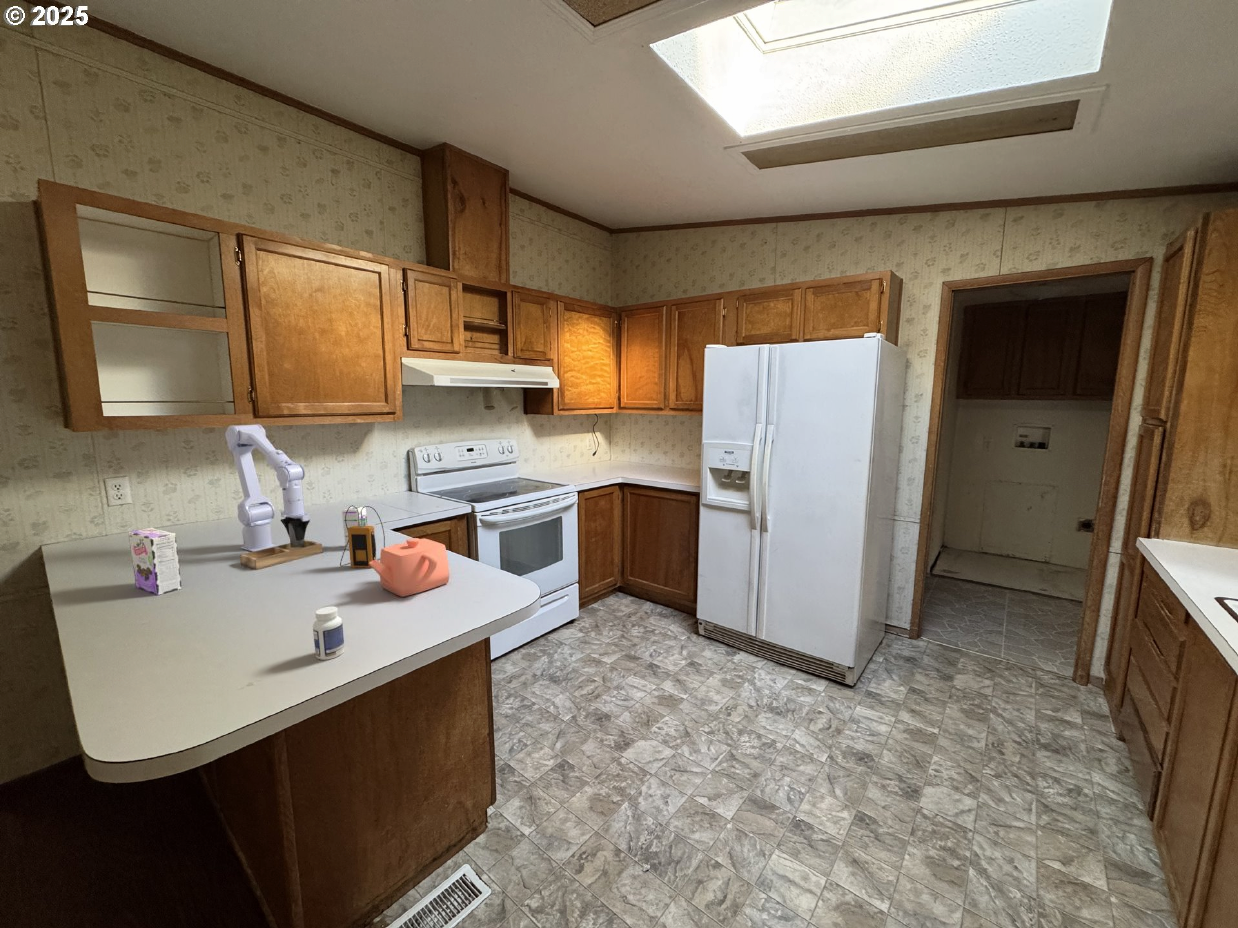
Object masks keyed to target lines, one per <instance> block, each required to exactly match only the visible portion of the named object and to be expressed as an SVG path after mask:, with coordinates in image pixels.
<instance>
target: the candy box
mask: <svg viewBox="0 0 1238 928" xmlns="http://www.w3.org/2000/svg"><path fill="white" fill-rule="evenodd" d="M176 535H177V534H176V533H175V532H170V531H166V530H162V529H158V528H155V527H147V528H142V529H138V530H133V531H128V538H129V539H128V540H129V547H130V553H131V559H132V568H133V573H134V581H135V587H136V588H138V589H141V590H144V591H146V592H149V593H152V594H154V595H157V596H160V595H163V594H167V593H172V592H174V591H175V590H176V591H179V589H180V590H182V588H183V587H182V581H181V573H180V571H181V570H180V563H179V553H178V545H177V544H178V543H177V536H176Z"/></svg>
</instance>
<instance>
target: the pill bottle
mask: <svg viewBox="0 0 1238 928" xmlns="http://www.w3.org/2000/svg"><path fill="white" fill-rule="evenodd" d="M338 611H339V610H338V607H336V606H326V607H322V608H319V609H317V610H316V611H315V619H316V620H315V621H314V622H313V624H312V632H313V641H314V651H315V652H314V653H315V657H316V658H317V659H318V660H323V661H324V660H331V659H335V658H337V657H339V656H341V655H342V654H343V653H345V640H344V639H345V638H344V628H343V624H344V623H343V619H342V618H341V616H339V615H338V614H339V612H338Z"/></svg>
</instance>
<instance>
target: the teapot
mask: <svg viewBox="0 0 1238 928" xmlns="http://www.w3.org/2000/svg"><path fill="white" fill-rule="evenodd" d="M446 549H447V548H446V545H445V544H443V543H440V542H438V541H435V540H431V539H428V538H418V537H417V538H416V537H413V538H412V537H410V538H409V539H408V538H407V539H406V541H405V542H401V543H395V544H393V545H390V546H385V548H384V547H382V548H381V550H380V556H379V558H380V560H373V561H371V562H369V564H370V565H371V567H372V568H371V569H373V570H374V571H375V572H376V574H378V576H379V579H380V580H379V581H380V584H381V587H382V589H385V590H387V592H388V591H389V592H390V593H392V594H395V595H397V596H399V597H402V598H404V597H408V596H412V595H415V594H418V593H422V592H425V591H428V590H431V589H434V588H437V587H439V586H443V585H446V584H447V583H449V580H450V567H449V558H448V554H447V550H446Z"/></svg>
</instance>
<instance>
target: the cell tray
mask: <svg viewBox="0 0 1238 928" xmlns="http://www.w3.org/2000/svg"><path fill="white" fill-rule="evenodd" d="M322 545H323V544H322V543H320V542H316V541H313V540H309V539H304V546H302V547H297V548H291V545H290V542H288V543H285V544H284V543H283V544H281V545H280V544H279V545H277V546H275V547H271V548H267V549H262V550H258V551H254V552H252V551H250V552H247V553H241V554H239V561H240V564H241V565H242V566H244V565H245V566H244V567H247V568H251V569H253V570H261V569H266V568H270V567H273V566H277V565H281V564H285V563H288V562H292V561H297V560H300V559H304V558H308V557H311V556H316V555H319V554H323V546H322Z"/></svg>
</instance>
